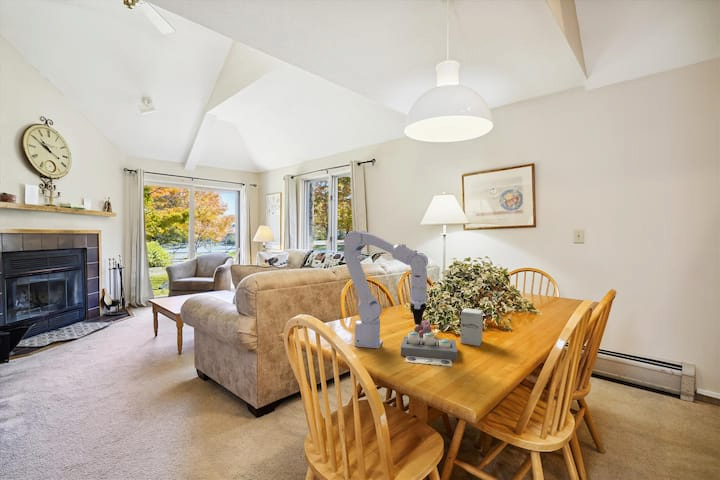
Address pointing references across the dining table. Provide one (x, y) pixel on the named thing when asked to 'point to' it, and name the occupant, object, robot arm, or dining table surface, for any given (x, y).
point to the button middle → (428, 339)
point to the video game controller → (423, 328)
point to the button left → (413, 338)
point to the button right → (444, 343)
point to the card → (428, 361)
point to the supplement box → (471, 326)
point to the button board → (429, 350)
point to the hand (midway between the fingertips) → (417, 324)
